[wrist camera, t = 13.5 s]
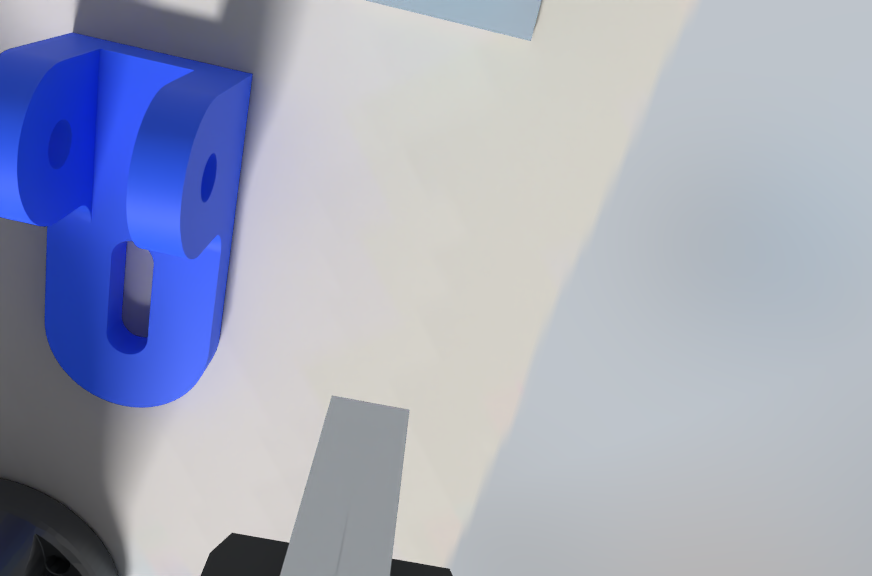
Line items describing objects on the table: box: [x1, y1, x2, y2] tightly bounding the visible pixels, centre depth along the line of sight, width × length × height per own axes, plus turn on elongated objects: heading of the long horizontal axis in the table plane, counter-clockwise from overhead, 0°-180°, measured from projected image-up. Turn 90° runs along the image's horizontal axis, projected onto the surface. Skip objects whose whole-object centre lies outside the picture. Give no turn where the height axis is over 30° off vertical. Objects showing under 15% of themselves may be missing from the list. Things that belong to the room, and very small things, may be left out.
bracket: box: [0, 33, 253, 407], centre depth 38 cm, size 18×8×9 cm, turn 168°
